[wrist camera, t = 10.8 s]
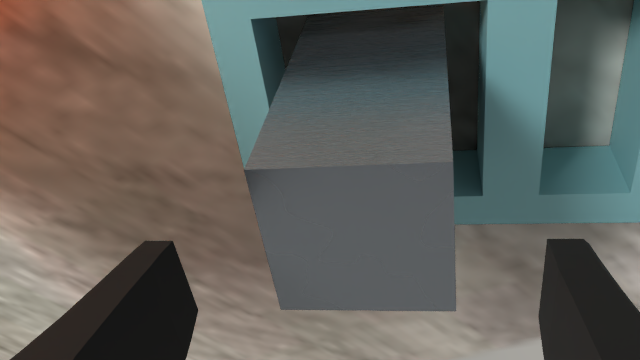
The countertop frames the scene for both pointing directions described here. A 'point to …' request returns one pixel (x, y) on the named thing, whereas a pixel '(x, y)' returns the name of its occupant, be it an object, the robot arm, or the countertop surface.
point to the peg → (360, 166)
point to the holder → (493, 110)
